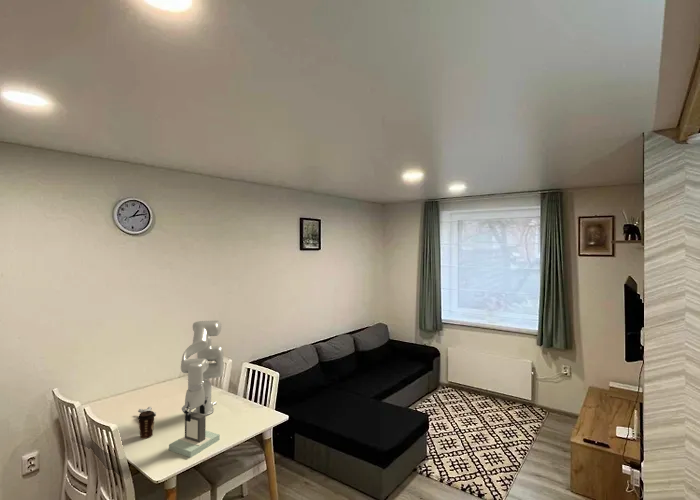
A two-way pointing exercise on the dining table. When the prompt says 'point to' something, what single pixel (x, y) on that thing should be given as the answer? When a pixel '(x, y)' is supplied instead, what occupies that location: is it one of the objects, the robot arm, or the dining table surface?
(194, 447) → the sage stand
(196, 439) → the picture frame
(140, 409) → the bunny figurine
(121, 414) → the dining table surface
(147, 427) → the coffee cup
